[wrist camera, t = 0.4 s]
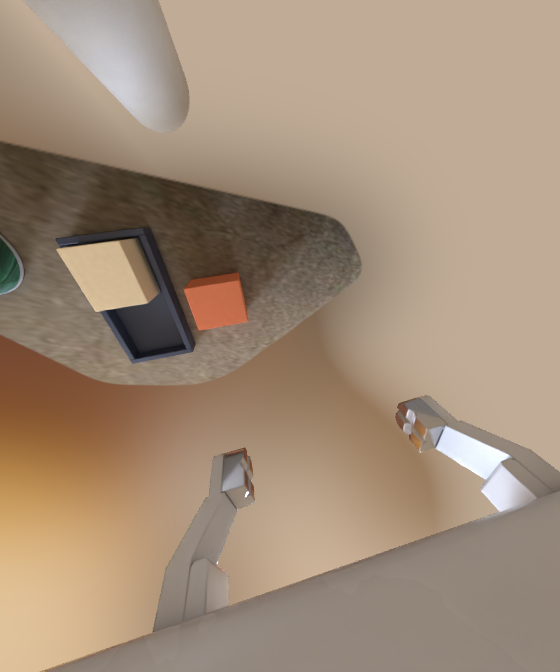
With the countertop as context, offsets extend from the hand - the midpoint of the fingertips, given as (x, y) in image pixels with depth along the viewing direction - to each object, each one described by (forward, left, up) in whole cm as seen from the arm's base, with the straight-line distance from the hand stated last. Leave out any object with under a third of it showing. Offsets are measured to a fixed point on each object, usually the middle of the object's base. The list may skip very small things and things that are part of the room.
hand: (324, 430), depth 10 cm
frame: (-3, -15, -20) cm, 25 cm away
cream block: (-7, -15, -19) cm, 26 cm away
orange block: (-2, -6, -20) cm, 21 cm away
